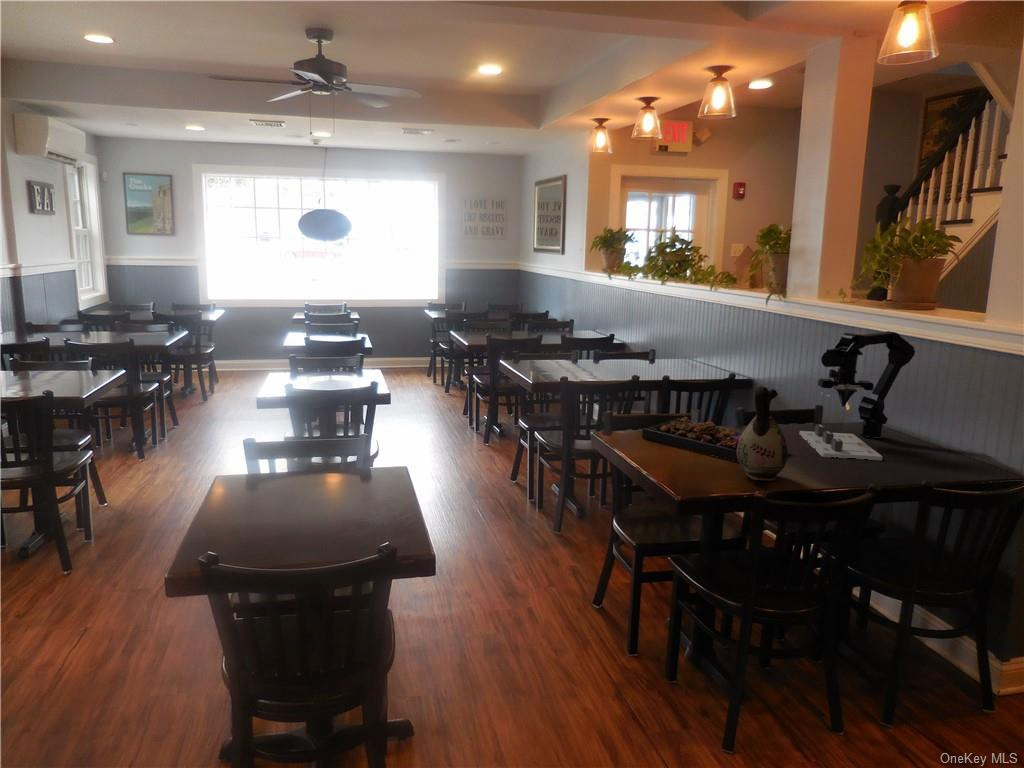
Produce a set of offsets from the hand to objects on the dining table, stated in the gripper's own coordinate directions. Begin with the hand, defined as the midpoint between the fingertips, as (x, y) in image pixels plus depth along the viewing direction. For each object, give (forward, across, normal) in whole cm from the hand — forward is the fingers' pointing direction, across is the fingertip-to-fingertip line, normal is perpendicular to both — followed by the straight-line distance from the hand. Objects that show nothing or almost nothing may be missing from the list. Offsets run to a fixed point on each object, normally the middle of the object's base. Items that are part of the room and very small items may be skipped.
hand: (842, 406), depth 275 cm
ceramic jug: (+13, +42, +55) cm, 70 cm away
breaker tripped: (+11, +8, +12) cm, 18 cm away
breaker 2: (+11, +8, +22) cm, 26 cm away
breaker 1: (+11, +8, +2) cm, 14 cm away
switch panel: (+13, +4, +12) cm, 18 cm away
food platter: (+14, +51, +20) cm, 57 cm away
